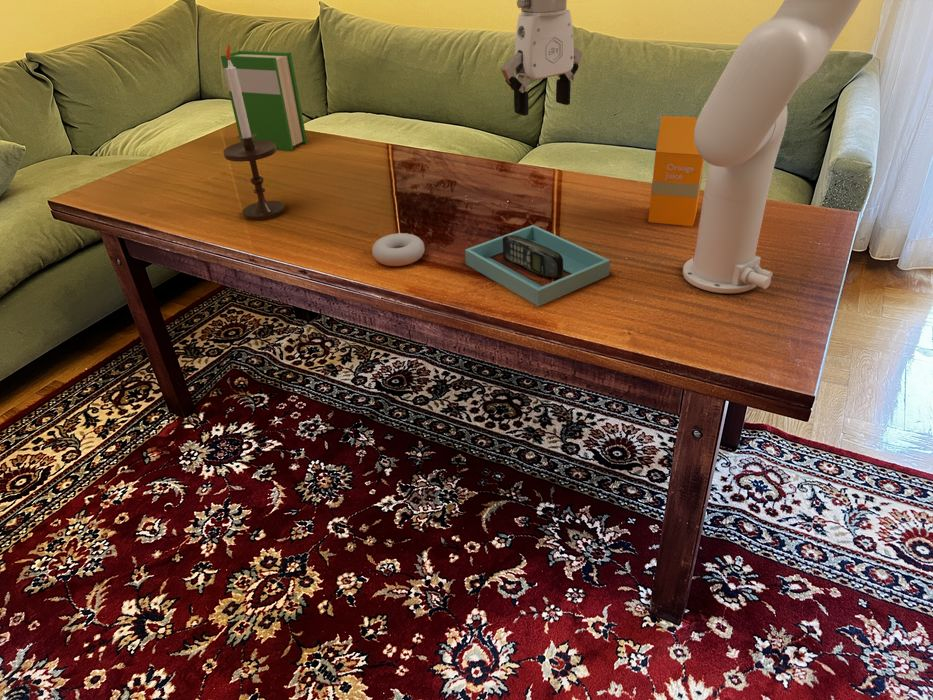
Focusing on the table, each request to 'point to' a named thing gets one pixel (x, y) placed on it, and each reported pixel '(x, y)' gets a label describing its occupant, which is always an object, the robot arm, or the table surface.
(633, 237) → the table surface
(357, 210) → the table surface
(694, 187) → the orange juice
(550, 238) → the rectangular frame
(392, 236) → the donut
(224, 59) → the hardback book
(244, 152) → the candlestick
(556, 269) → the mobile phone
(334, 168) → the table surface
